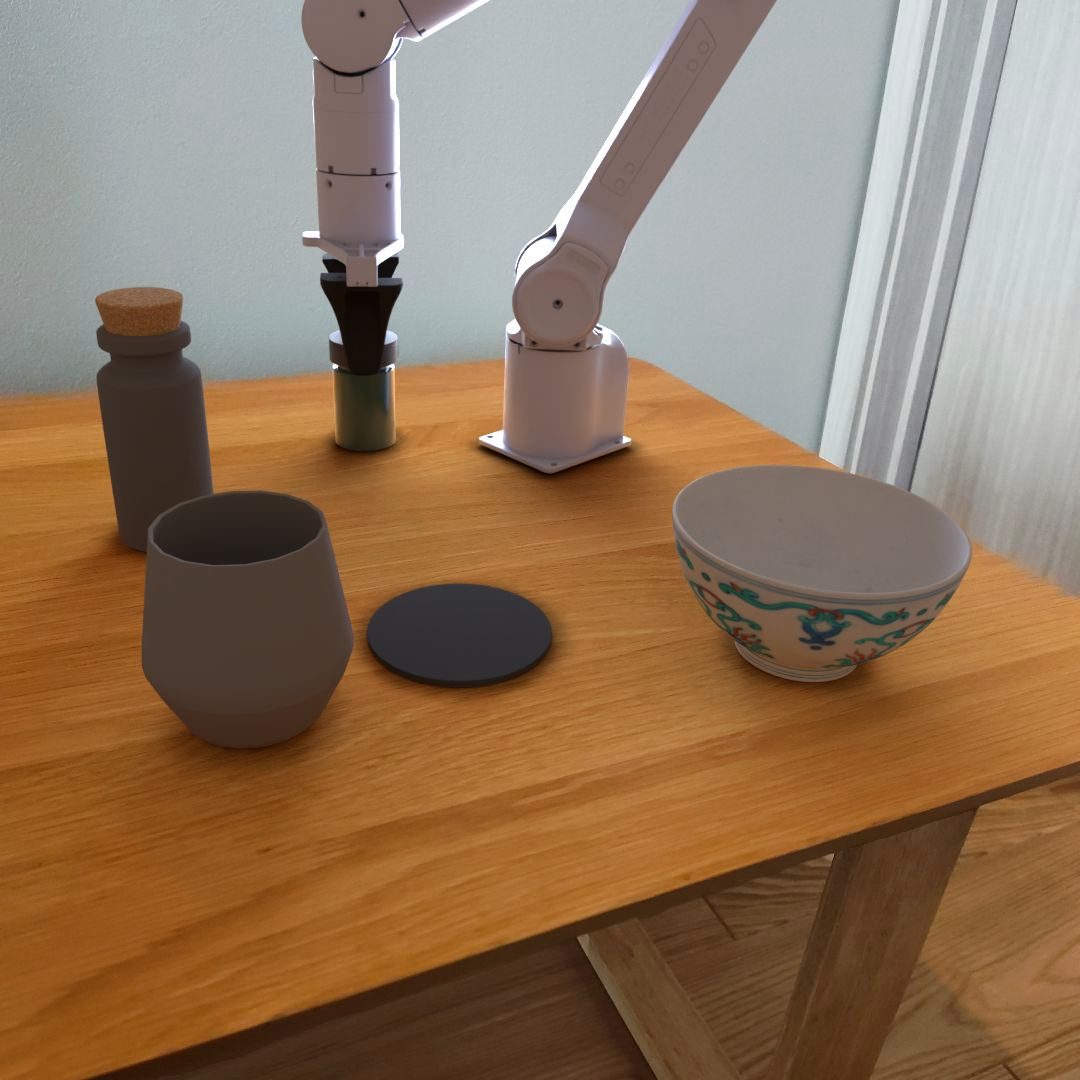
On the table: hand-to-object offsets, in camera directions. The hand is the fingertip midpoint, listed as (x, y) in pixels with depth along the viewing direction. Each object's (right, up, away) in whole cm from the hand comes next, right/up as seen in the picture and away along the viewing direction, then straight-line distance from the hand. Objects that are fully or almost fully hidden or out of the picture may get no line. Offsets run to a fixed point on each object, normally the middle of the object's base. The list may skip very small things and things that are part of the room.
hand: (364, 360), depth 79 cm
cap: (0, +1, -1) cm, 2 cm away
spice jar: (0, -6, +3) cm, 6 cm away
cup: (0, -22, -29) cm, 36 cm away
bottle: (-10, -13, -12) cm, 21 cm away
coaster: (+9, -19, -22) cm, 30 cm away
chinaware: (+27, -19, -21) cm, 40 cm away
